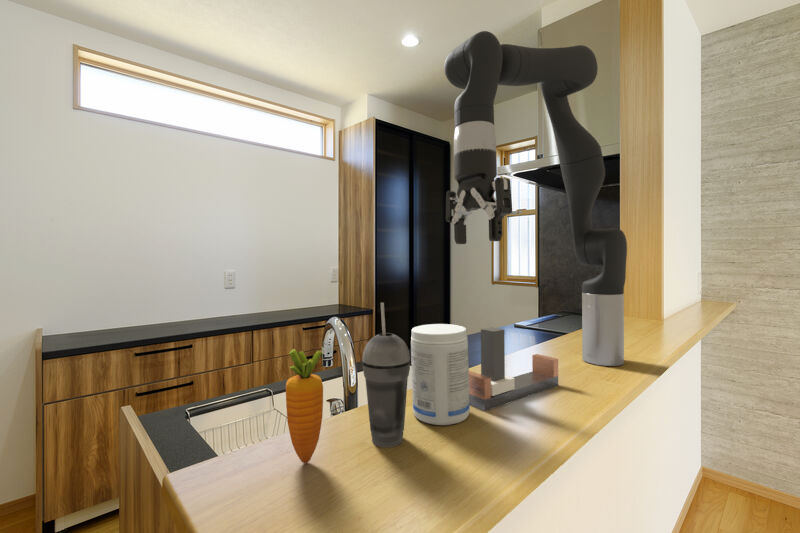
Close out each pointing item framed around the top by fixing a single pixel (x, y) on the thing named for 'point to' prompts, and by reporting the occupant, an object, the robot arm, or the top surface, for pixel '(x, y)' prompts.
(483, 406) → the rail
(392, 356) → the beverage cup
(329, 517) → the top surface
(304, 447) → the carrot
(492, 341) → the block
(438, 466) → the top surface
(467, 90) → the robot arm
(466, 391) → the supplement tub
